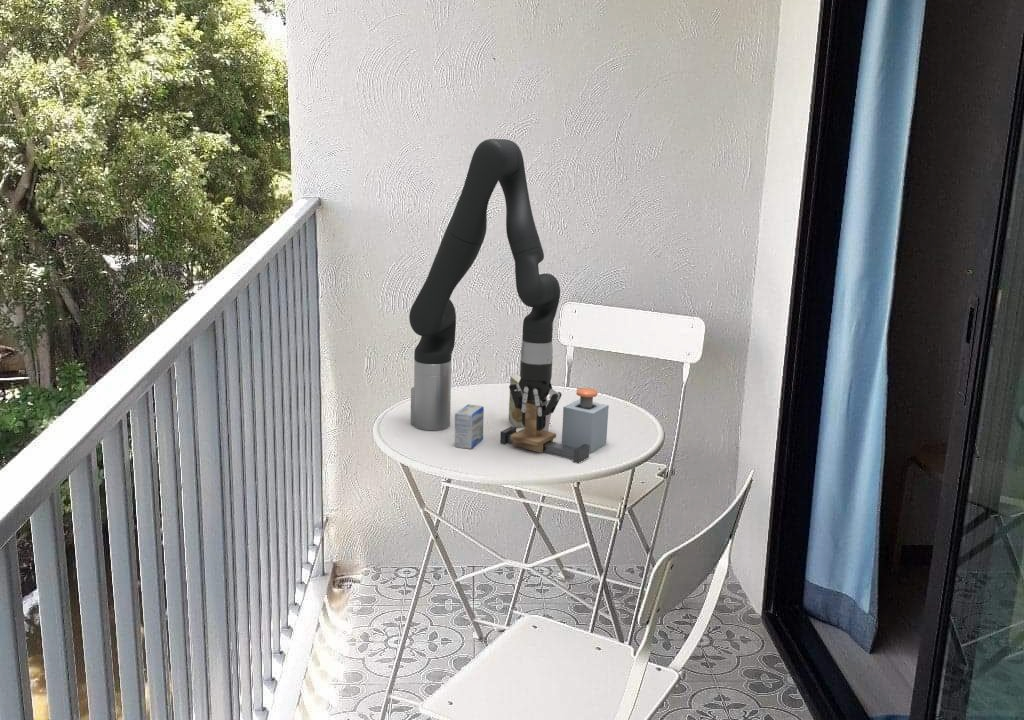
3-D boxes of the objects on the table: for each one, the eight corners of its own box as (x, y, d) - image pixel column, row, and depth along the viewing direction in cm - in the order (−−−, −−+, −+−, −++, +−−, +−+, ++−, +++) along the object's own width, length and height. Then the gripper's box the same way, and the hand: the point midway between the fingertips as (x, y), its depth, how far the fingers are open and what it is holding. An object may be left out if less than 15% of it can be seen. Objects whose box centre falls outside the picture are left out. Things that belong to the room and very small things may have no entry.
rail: (500, 443, 244) (500, 431, 243) (511, 437, 248) (511, 426, 247) (578, 463, 232) (579, 451, 232) (588, 457, 236) (589, 445, 236)
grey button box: (561, 446, 243) (563, 406, 240) (577, 437, 250) (579, 399, 247) (590, 453, 239) (592, 413, 236) (606, 444, 245) (608, 405, 243)
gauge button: (571, 418, 242) (572, 391, 240) (581, 413, 246) (582, 386, 244) (589, 422, 239) (591, 395, 237) (599, 417, 243) (601, 390, 241)
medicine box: (471, 449, 239) (471, 415, 236) (453, 447, 240) (454, 412, 238) (483, 439, 246) (484, 405, 244) (466, 436, 247) (467, 403, 245)
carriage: (509, 446, 240) (511, 403, 237) (527, 437, 247) (529, 395, 244) (538, 454, 236) (540, 410, 233) (555, 444, 243) (557, 401, 240)
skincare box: (507, 420, 261) (509, 375, 257) (523, 419, 262) (525, 374, 259) (516, 428, 255) (518, 382, 251) (532, 426, 256) (534, 381, 253)
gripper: (502, 357, 236) (500, 426, 241) (554, 367, 229) (550, 438, 234) (519, 350, 242) (517, 418, 247) (570, 360, 235) (566, 430, 240)
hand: (533, 427), depth 240 cm, fingers closed on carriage, 3 cm apart
